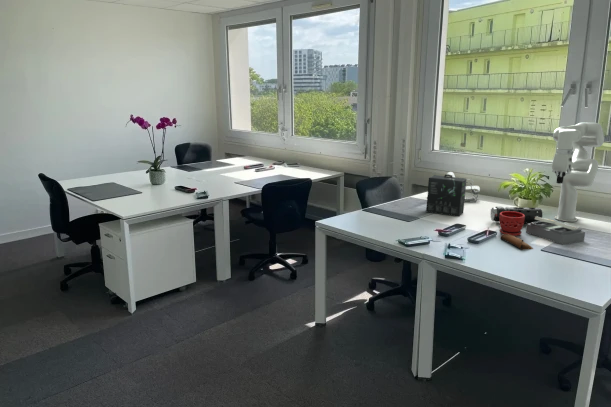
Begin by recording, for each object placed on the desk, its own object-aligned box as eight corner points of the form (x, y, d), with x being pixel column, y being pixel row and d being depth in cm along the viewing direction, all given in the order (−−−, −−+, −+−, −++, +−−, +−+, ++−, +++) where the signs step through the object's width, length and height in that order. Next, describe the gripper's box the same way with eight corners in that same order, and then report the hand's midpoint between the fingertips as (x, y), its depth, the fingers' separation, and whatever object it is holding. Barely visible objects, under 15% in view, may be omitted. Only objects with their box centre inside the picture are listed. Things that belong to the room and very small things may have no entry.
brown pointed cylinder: (535, 248, 234) (530, 238, 232) (523, 256, 233) (519, 246, 232) (513, 238, 251) (509, 228, 249) (503, 245, 251) (498, 235, 249)
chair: (445, 196, 355) (447, 171, 350) (479, 198, 345) (481, 173, 340) (443, 199, 343) (444, 174, 338) (478, 202, 333) (480, 176, 328)
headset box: (464, 213, 304) (467, 175, 298) (459, 217, 295) (462, 178, 288) (431, 208, 316) (433, 172, 310) (425, 212, 306) (427, 174, 300)
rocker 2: (568, 228, 251) (569, 225, 251) (576, 231, 246) (577, 228, 246) (554, 224, 246) (555, 221, 246) (562, 226, 241) (563, 223, 241)
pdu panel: (541, 227, 271) (542, 217, 269) (583, 241, 246) (585, 230, 244) (521, 230, 265) (522, 220, 264) (562, 244, 240) (564, 233, 239)
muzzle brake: (541, 225, 275) (543, 209, 272) (493, 224, 277) (495, 208, 275) (535, 221, 284) (537, 205, 281) (489, 220, 286) (490, 204, 284)
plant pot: (494, 230, 265) (496, 210, 263) (516, 230, 265) (519, 210, 262) (502, 237, 253) (505, 216, 250) (526, 237, 252) (529, 216, 249)
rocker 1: (548, 222, 263) (549, 219, 262) (556, 224, 258) (557, 221, 258) (534, 219, 258) (535, 216, 258) (541, 221, 253) (542, 218, 253)
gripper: (580, 153, 255) (575, 185, 259) (557, 150, 268) (553, 180, 273) (570, 153, 252) (566, 186, 256) (547, 150, 266) (544, 181, 270)
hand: (559, 183), depth 264 cm, fingers closed
